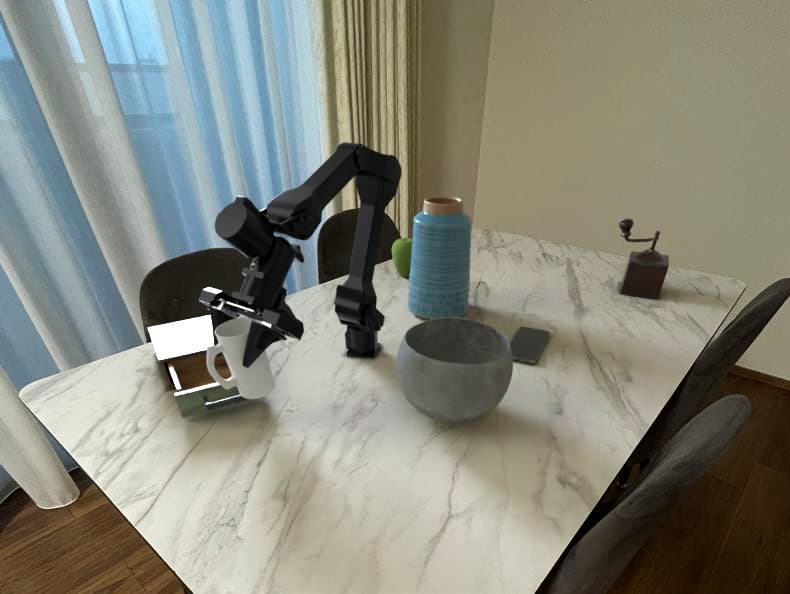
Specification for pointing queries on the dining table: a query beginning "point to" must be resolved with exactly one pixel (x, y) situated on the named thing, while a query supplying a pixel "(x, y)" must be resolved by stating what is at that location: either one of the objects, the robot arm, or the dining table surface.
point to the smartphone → (528, 344)
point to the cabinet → (180, 341)
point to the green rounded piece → (402, 255)
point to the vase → (440, 259)
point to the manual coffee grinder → (643, 267)
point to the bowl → (454, 368)
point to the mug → (240, 361)
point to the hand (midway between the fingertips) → (231, 361)
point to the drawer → (201, 385)
